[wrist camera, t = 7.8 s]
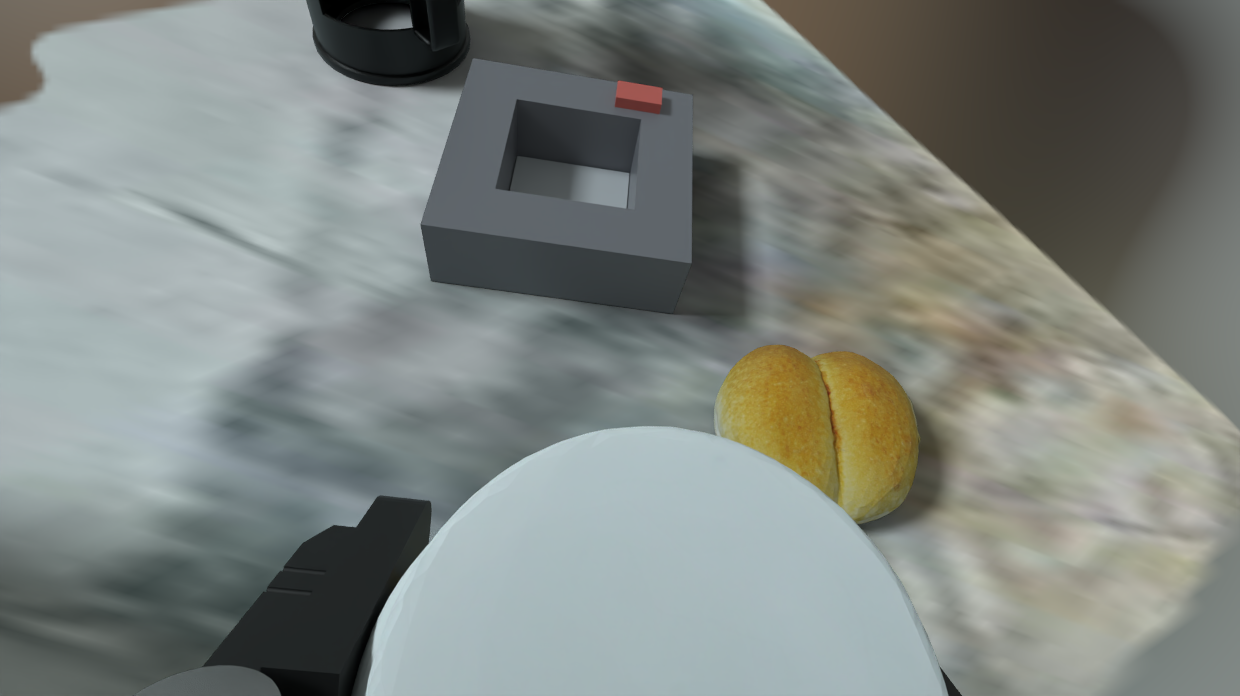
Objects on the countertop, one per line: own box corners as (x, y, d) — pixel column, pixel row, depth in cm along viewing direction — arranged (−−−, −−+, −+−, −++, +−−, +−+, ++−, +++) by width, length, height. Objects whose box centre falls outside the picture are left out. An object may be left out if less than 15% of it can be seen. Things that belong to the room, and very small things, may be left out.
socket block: (430, 280, 31) (418, 214, 27) (476, 119, 37) (472, 47, 33) (672, 313, 32) (694, 254, 28) (676, 151, 38) (695, 85, 34)
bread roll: (706, 354, 31) (730, 307, 28) (880, 376, 32) (923, 333, 28) (710, 521, 27) (738, 489, 23) (911, 541, 27) (966, 513, 24)
